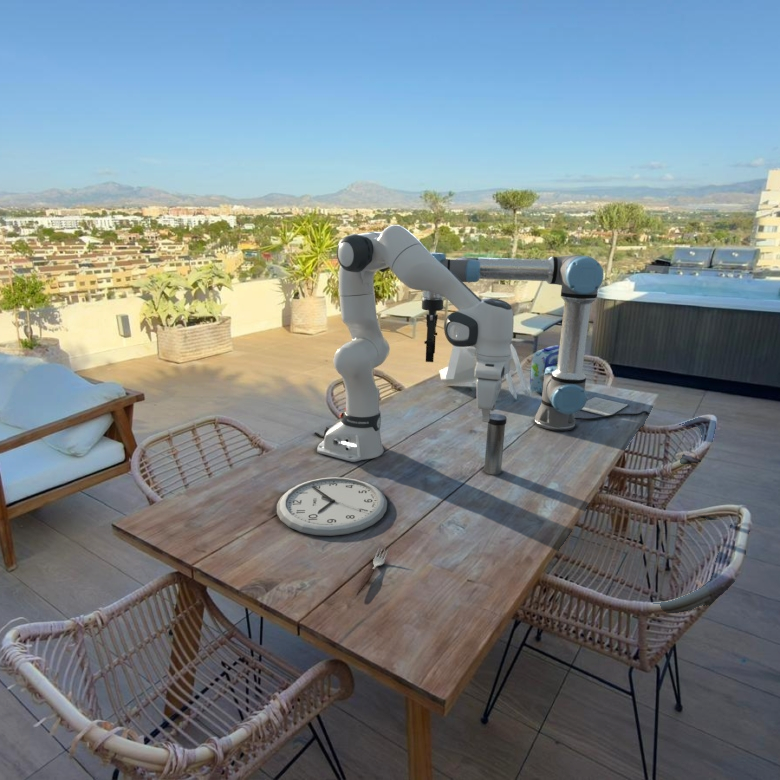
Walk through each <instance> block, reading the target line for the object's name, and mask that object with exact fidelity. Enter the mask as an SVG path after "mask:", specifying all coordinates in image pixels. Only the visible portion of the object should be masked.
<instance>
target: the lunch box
mask: <svg viewBox="0 0 780 780" xmlns="http://www.w3.org/2000/svg"><path fill="white" fill-rule="evenodd" d="M559 346H560V345H551V346H548V347H544V348H543V349H539V350H536V351H535V352H534V354H533V356H532V358H531V363H530V374H529V391H532V392H536V393H540V394H542V392H543V382H544V373H545V369H546V368H547V367H553V366H557V364H558V355H559Z"/></svg>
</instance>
